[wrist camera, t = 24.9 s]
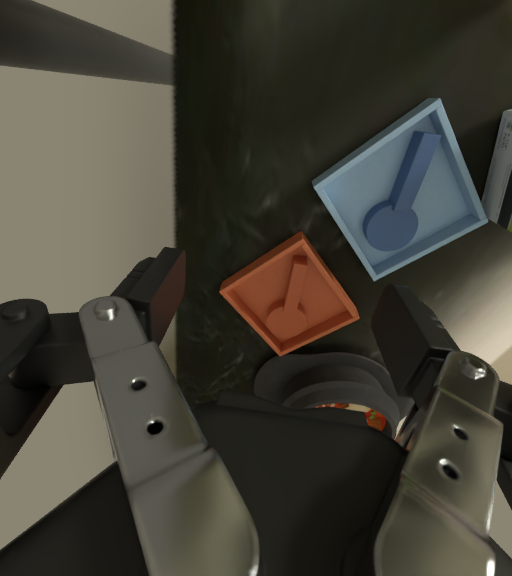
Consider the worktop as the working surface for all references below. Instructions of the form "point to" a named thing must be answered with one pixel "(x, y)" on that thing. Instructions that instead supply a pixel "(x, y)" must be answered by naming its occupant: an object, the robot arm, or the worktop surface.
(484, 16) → the worktop surface
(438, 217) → the blue tray
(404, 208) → the blue spoon
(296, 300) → the orange disc-ended stick
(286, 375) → the casserole
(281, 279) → the terracotta tray
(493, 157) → the tea box
